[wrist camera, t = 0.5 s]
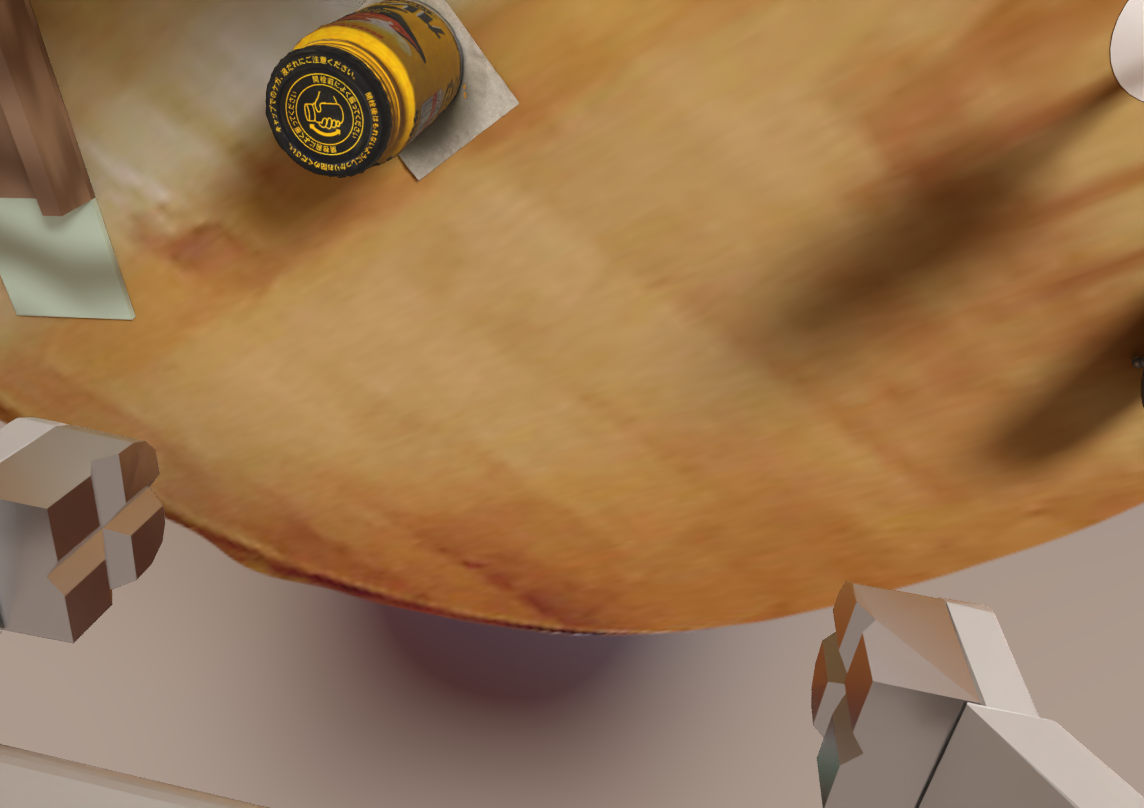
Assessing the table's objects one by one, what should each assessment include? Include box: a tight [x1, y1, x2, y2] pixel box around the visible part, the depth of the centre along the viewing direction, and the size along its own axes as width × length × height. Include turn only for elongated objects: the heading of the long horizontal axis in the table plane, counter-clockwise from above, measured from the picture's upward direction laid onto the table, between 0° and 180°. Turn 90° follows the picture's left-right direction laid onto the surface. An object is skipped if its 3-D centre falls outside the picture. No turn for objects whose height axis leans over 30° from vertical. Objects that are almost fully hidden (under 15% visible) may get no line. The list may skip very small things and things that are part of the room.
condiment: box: [266, 0, 519, 180], centre depth 40 cm, size 7×8×12 cm
